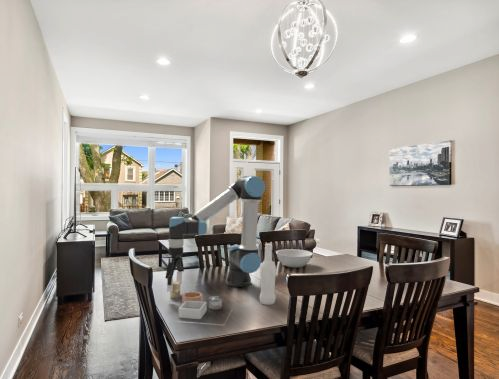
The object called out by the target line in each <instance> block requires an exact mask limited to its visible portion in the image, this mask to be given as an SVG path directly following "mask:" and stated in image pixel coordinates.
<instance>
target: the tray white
mask: <svg viewBox="0 0 499 379" xmlns="http://www.w3.org/2000/svg"><path fill="white" fill-rule="evenodd" d="M207 306H208V305H207V301H202V302H199V301H185V302H184V303H183V304H180V306H179V307H178V318H181V319H193V320H201V319H202V318H203V317H204V315H205V313H206V312H207V311H208V310H207V308H208V307H207Z"/></svg>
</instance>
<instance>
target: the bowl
mask: <svg viewBox="0 0 499 379" xmlns="http://www.w3.org/2000/svg"><path fill="white" fill-rule="evenodd" d="M275 253H276V256H277V259H278V260H279V262H280V263H281V264H282V265H283V266H285V267H288V268H294V269H295V268H302V267H305V266H306V265H308V264H309V262H310V261H311V259H312V256H313V254H314V253H313V252H311V251H309V250H305V249H298V248H297V249H295V248H294V249H291V248H290V249H289V248H288V249H287V248H286V249H279V250H275Z"/></svg>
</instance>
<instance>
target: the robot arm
mask: <svg viewBox="0 0 499 379" xmlns="http://www.w3.org/2000/svg"><path fill="white" fill-rule="evenodd" d="M265 191H266V184H265V182H264V180H263V179H262V178H261V177H259V176H256V175H245V176H242V177H240V178H238V179H236V181H234V182H233V183H231V184H230V185H229V186H228V187H227V189H226V190H225V191H223V192H222V193H221V194H219V195H218V196H217V197H216V198H214V199H213V200H211V201H210V202H208V203H207V204H206V205H204V206H203V207H201V208H200V209H199V210H197V211H195V213H193V214H192V215H191V216H190V217H186V218H184V217H183V216H171V217H170V218H169V226H168V240H167V241H168V253H167V254H168V255H170V256H171V258H168V262H167V267H166V273H165V279H166V280H167V283H166V292H172V291H173V281H174V278H173V277H174V273H175V271H176V281H175V282H181V283H180V285H182V284H183V283H182V282H183V272H185V269H184V260H183V254H184V243H185V240H184V238H185V237H184V236H202V235H206V234H207V232H208V231H207V230H208V224H207V222H208V221H209V220H210V219H211V218H213V217H214V216H216V215H217V214H218V213H219V212H221V211H223V210H224V208H226V207H227V206H229V205H230V204H232V203H233V202H234V201H238V200H241V201H242V202H243V203H242V204H243V205H242V221H241V222H242V224H241V238H240V239H241V242H240V244H237V245H236V244H235V245H231V246H229V249H228V250H229V251H228V254H229V256H228V258H229V260H228V262H229V263H228V273H227V274H226V279H225V284H226V285H227V286H230V287H235V288H236V287H237V288H239V287H241V288H243V287H249V286H250V285H252V278H251V275H250V274H252V273H255V272H257V271H258V270H259V269H260V267H261V264H262V259H261V256H260V255H259V247H258V245H257V239H258V238H257V236H258V235H257V234H258V220H259V216H258V215H259V203H260V202H261V201H262V195H263V194H264V193H265Z"/></svg>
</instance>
